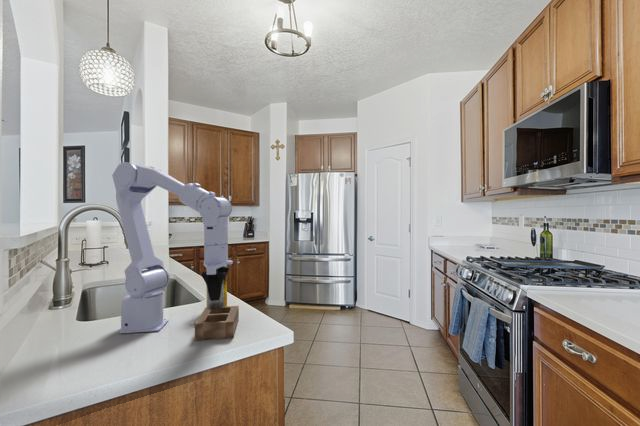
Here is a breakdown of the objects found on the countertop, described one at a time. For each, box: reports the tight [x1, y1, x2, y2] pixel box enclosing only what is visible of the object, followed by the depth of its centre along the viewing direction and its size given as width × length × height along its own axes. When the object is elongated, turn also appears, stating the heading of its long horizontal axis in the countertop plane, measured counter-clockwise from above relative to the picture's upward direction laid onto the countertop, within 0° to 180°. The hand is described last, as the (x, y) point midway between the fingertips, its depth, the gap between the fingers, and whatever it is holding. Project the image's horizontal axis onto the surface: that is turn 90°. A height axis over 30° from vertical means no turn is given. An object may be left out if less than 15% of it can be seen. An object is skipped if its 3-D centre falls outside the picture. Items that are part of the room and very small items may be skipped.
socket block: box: [194, 305, 240, 342], centre depth 81 cm, size 9×13×4 cm
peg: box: [206, 279, 224, 310], centre depth 78 cm, size 4×4×7 cm
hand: (216, 297), depth 78 cm, fingers closed on peg, 4 cm apart
